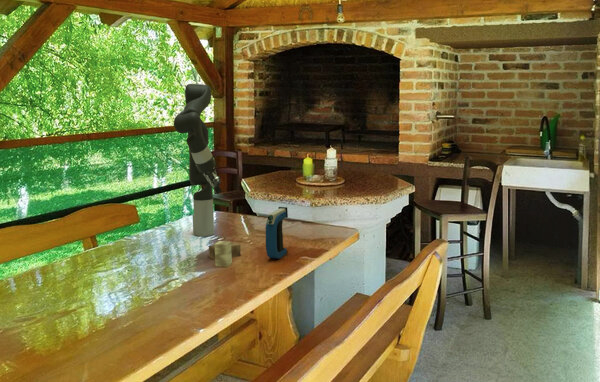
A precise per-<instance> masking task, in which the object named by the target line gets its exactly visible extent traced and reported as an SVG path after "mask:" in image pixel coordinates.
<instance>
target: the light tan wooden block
mask: <svg viewBox="0 0 600 382" xmlns="http://www.w3.org/2000/svg"><path fill="white" fill-rule="evenodd" d="M208 251H209V252H208V255H209V256H208V257H209V258H210V259H212V260H213V261H215V244H214V245H213V244H212V245H211V244H210V245H208ZM231 254H232V258H235V257H241V254H242V253H241V244H239V243H238V242H236V241H235V242H231Z"/></svg>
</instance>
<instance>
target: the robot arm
mask: <svg viewBox="0 0 600 382" xmlns="http://www.w3.org/2000/svg"><path fill="white" fill-rule="evenodd" d="M184 100H185V106H184V108H183V110H182V111H180V112H179V113H178V114H177V115H176V116H175V117H174V119H173V128H174V129H175V131H176V132H177V133H179V134H186V133H187V138H186V141H185V142H186V144H187V147H188V156H189V159H188V165H189V166H188V176H189V177H188V178H189V183H190V184H191V185H192V186H204V187H203V188H202V189H200V190H199V191H198V190H197V191H195V192H193V194H192V195H193V197H192V198H193V214H192V234H193V235H194V236H196V237H208V236H213V235H214V234H215V221H214V218H215V217H214V195H213V193H215V194H217V195H218V194H221V192H222V190H221V187H220V185H221V182H222V181H221V178H222V177H221V176H218V175H217V171H216V169H215V167H216V164H217V163H216V160H215V158H214V156H213V154H212V152H211V150H210V148H209V146H208V145H209V138H210V137H209V130H208V129H209V128H208V127H207V125H206V123H205V122H204V121H203V120H202V118H201V114H202V113H203V111H205V110H206V109H207V108H208V107H209V105H210V103H211V100H212V89H211V87H210V85H208V84H202V83H201V84H200V83H199V84H198V83H188V84H186V86H185V88H184ZM213 191H214V192H213Z"/></svg>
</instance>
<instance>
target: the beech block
mask: <svg viewBox="0 0 600 382" xmlns="http://www.w3.org/2000/svg"><path fill="white" fill-rule="evenodd" d="M231 243H232V241H227V240H225V241H224V240H223V241H222V240H219V241H217V242H216V243H214V245H215V260H214V262H215V263H214V264H215V267H222V266H223V267H224V268H228V267H229V266H230V265H231V263H233V257H232V254H231Z"/></svg>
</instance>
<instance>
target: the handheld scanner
mask: <svg viewBox="0 0 600 382" xmlns="http://www.w3.org/2000/svg"><path fill="white" fill-rule="evenodd" d="M288 211H289V210H288V207H285V206H279V207H278V208H277V209H276V210H274V211H272V212H270V213H268V214H267V220H266V223H265V251H266V256H267V257H268V258H270V259H277V260H280V259H282V258H283V257H284V256H285V255H287V253H288V249H287V248H286V247H284V235H283V234H284V233H283V220H284V219H287V218H288V216H289V214H288Z"/></svg>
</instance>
